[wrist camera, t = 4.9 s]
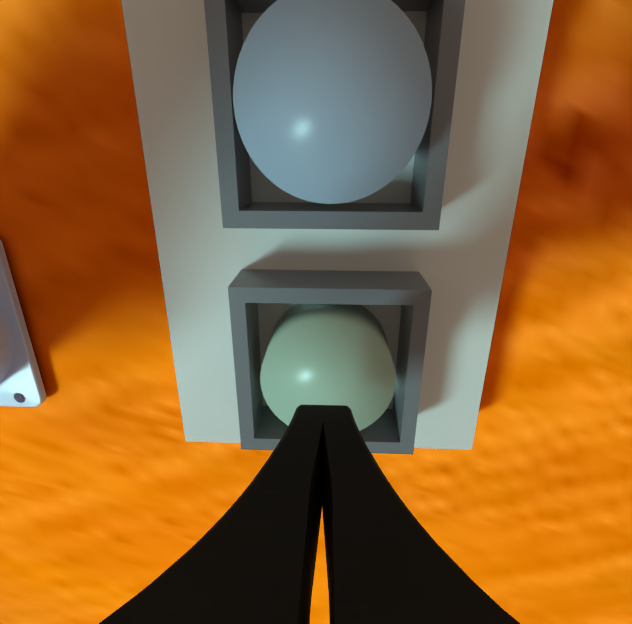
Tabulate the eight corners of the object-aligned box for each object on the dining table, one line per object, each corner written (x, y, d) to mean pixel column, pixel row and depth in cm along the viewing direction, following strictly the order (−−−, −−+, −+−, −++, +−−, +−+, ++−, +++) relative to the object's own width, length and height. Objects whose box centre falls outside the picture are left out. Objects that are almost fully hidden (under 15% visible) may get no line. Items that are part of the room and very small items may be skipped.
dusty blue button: (255, 194, 12) (240, 203, 10) (246, 14, 10) (225, -19, 8) (406, 194, 12) (421, 204, 10) (421, 13, 10) (443, -22, 8)
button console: (199, 412, 19) (167, 476, 15) (91, -456, 10) (-59, -829, 6) (457, 419, 19) (488, 486, 15) (603, -483, 9) (781, -902, 6)
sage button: (271, 399, 16) (263, 435, 14) (267, 294, 14) (256, 318, 12) (383, 401, 16) (390, 439, 14) (391, 296, 14) (401, 321, 12)
